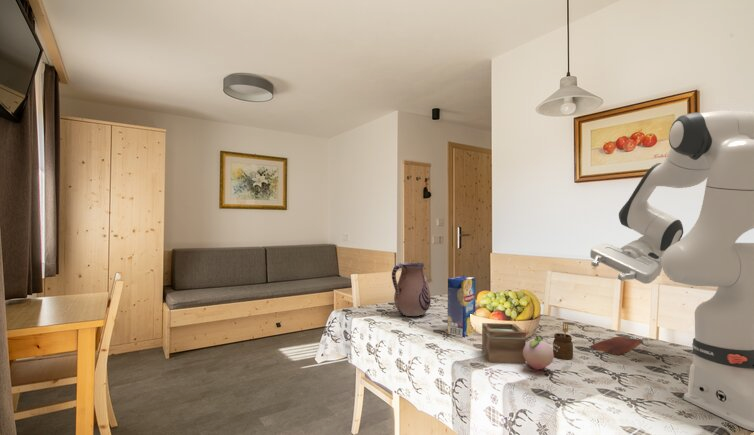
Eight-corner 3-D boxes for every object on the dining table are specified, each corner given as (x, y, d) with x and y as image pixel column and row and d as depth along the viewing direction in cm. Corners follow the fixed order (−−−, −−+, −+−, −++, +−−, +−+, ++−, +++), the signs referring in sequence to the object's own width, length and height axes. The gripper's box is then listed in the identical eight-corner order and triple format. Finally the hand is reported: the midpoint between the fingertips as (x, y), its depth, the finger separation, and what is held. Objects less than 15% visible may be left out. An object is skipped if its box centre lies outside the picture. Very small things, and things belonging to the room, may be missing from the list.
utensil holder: (569, 354, 126) (569, 318, 126) (576, 360, 119) (575, 322, 120) (550, 353, 127) (550, 317, 127) (556, 359, 120) (556, 322, 121)
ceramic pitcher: (437, 315, 181) (437, 263, 181) (410, 322, 165) (410, 266, 166) (409, 309, 193) (409, 261, 193) (381, 316, 177) (382, 263, 178)
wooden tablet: (620, 358, 124) (620, 353, 124) (588, 350, 132) (588, 345, 132) (647, 343, 140) (647, 338, 141) (617, 336, 148) (617, 332, 148)
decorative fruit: (552, 378, 105) (552, 342, 105) (521, 372, 109) (521, 338, 109) (554, 367, 113) (554, 334, 113) (526, 362, 117) (525, 330, 117)
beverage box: (475, 331, 152) (475, 277, 153) (463, 337, 143) (463, 280, 144) (460, 328, 156) (460, 276, 157) (447, 334, 148) (447, 278, 148)
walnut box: (525, 363, 116) (525, 332, 117) (489, 362, 117) (489, 331, 117) (514, 351, 127) (514, 323, 128) (482, 350, 128) (482, 323, 128)
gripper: (607, 235, 134) (579, 249, 129) (668, 261, 116) (638, 278, 112) (605, 250, 136) (577, 264, 132) (665, 277, 119) (635, 294, 115)
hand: (606, 271), depth 122 cm, fingers open, 8 cm apart
